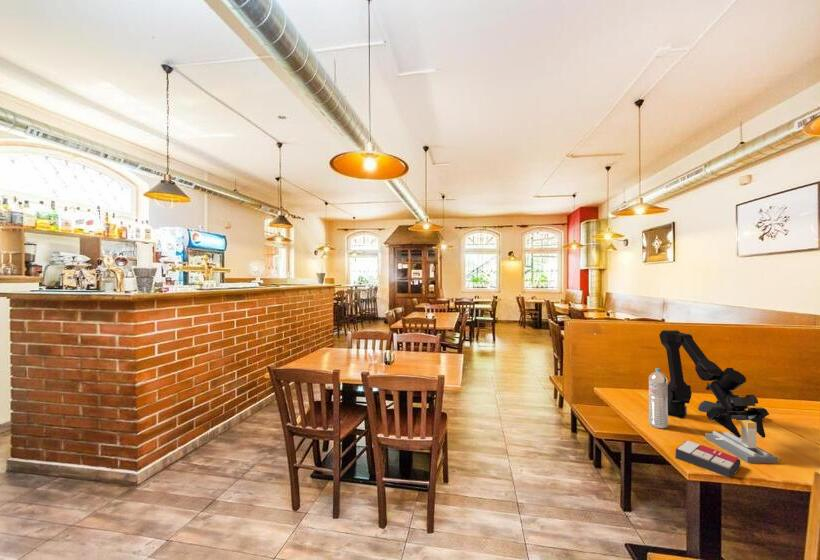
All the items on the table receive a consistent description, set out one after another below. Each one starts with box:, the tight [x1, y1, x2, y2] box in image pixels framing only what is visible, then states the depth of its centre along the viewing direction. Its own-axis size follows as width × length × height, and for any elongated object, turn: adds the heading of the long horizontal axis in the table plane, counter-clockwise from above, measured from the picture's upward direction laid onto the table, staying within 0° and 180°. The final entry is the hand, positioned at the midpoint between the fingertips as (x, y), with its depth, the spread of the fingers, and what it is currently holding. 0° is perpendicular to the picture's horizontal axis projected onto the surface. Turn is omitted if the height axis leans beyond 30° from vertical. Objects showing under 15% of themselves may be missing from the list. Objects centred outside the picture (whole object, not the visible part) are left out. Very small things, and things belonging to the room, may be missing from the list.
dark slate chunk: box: [697, 400, 752, 421], centre depth 160 cm, size 15×22×5 cm
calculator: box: [675, 440, 741, 478], centre depth 119 cm, size 11×4×15 cm
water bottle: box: [648, 367, 669, 430], centre depth 148 cm, size 7×7×25 cm
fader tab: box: [740, 420, 758, 451], centre depth 123 cm, size 3×3×10 cm
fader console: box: [704, 430, 779, 464], centre depth 127 cm, size 18×10×3 cm, turn 177°
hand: (752, 437), depth 122 cm, fingers open, 8 cm apart
